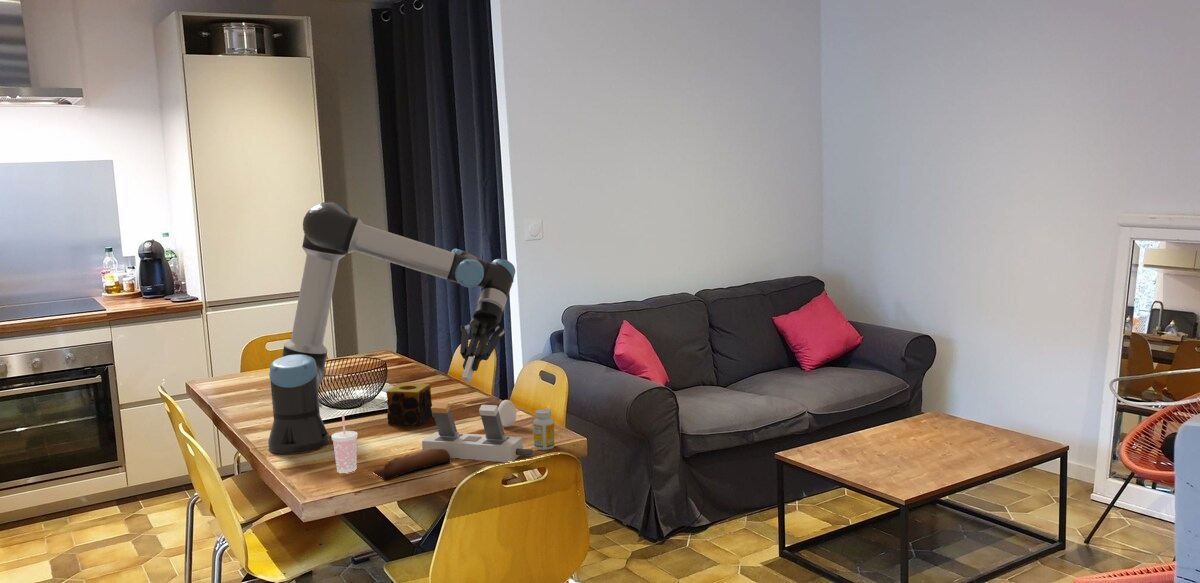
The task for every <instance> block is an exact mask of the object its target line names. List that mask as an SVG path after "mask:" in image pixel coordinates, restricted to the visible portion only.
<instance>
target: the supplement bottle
mask: <svg viewBox="0 0 1200 583" xmlns="http://www.w3.org/2000/svg"><path fill="white" fill-rule="evenodd" d="M534 415H535V417H536V418H534V419H533V421H532V425H533V426H532V427H533V428H532V429H533V430H532V432H533V435H532V438H533V448H534V449H535V450H538V451H546V450H547V451H548V450H552V449H553V448H554V447H555V422H554V419H553V418H552V410H550V409H548V408H542V409H541V408H540V409H537V410H535V414H534Z"/></svg>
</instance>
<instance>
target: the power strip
mask: <svg viewBox="0 0 1200 583" xmlns="http://www.w3.org/2000/svg"><path fill="white" fill-rule="evenodd" d="M438 432H439V431H435V432H434V433H432V434H430V435H429V436H427V437H425V438H424V439H422V440H421V447H422V450H421V451H424V450H430V449H445V450H446V451H447V452H448V453H449V455H450V459H455V458H460V459H459V460H468V459H476V460H475V461H483V462H486V461H487V462H496V463H497V462H499V463H509V462H508V461H512V462H514V461H515V460H516V459H517V458H518V457H520V456H525V457H533V455H534V449H532V448H530V449H529V448H524V444H523V441H524V440H523V437H522V436H511V435H510V436H508V435H506V440H495V439H486V438H485V435H486V434H480V433H479V434H477V433H460V432H459V436H458V437H449V436H439V435H438ZM513 460H514V461H513Z"/></svg>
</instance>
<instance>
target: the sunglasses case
mask: <svg viewBox="0 0 1200 583" xmlns="http://www.w3.org/2000/svg"><path fill="white" fill-rule="evenodd" d="M448 462H449V463H451V458H450V455H449V453H448V452H447V451H446V450H445V449H430V450H424V451H423V450H421V451H417V452H415V453H413V454H412V453H411V454H406V455H403V456H402V457H395V458H394V459H392V460H390V461H389V462H387V463H385V464H383V465H381V466H379V467H377V468H376V469H374V470H372V471H373V472H374V473H375V474H377V475H378V476H380V477H382V478H383V479H386V480H389V479H390V480H391V479H393V478H395V477H399V476H401V475H403V474H407V473H409V472H411V471H412V472H413V471H417V470H421V469H424V468H428V467H433V466H436V465H440V464H444V463H448ZM378 476H377V477H378ZM383 479H382V480H383Z"/></svg>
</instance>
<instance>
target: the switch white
mask: <svg viewBox="0 0 1200 583" xmlns="http://www.w3.org/2000/svg"><path fill="white" fill-rule="evenodd" d="M498 407H499V406H498V405H494V404H491V405H490V404H481V405H480V407H479V409H478V412H479V415H480V418H481V422H482V425H483V428H484V429H483V430H484V432H485V434H484V435H485V438H486V439H495V440H506V436H507V434H505V431H504V426H502V423H501V419H500V415H499V410H498Z"/></svg>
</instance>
